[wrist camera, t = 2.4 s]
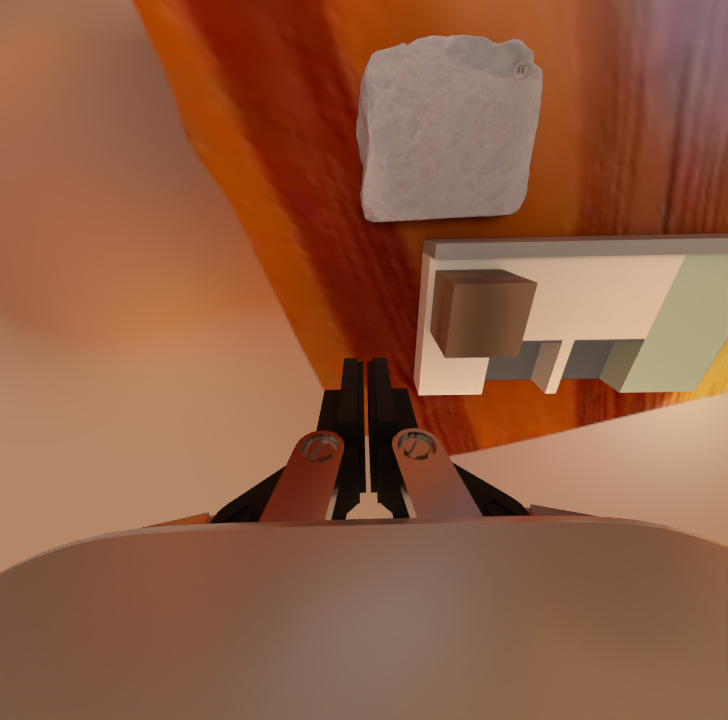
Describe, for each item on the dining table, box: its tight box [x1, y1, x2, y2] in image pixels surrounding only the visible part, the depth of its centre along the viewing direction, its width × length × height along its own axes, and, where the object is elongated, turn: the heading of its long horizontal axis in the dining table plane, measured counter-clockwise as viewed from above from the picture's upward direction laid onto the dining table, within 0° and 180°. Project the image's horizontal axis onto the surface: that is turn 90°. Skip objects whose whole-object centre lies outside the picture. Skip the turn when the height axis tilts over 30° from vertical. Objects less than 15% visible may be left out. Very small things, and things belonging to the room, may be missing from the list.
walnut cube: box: [430, 269, 538, 358], centre depth 20 cm, size 5×5×5 cm
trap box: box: [414, 233, 728, 395], centre depth 24 cm, size 26×14×4 cm, turn 91°
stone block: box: [356, 35, 543, 222], centre depth 19 cm, size 12×5×10 cm
